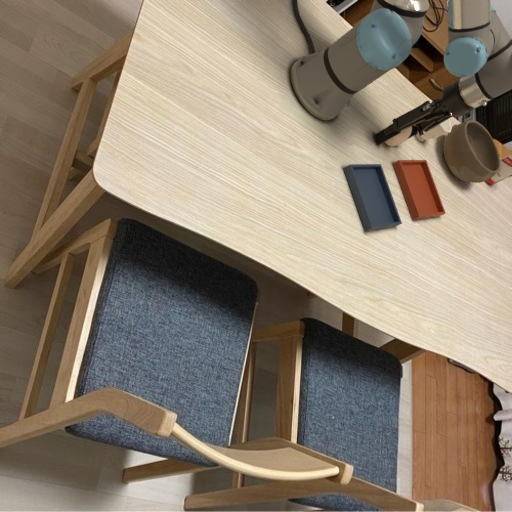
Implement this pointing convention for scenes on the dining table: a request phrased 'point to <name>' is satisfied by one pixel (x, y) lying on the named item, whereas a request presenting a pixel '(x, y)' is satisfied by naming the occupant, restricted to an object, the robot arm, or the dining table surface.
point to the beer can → (503, 170)
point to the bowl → (471, 152)
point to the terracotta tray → (419, 189)
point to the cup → (436, 131)
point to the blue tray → (372, 196)
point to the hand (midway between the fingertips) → (385, 139)
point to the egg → (399, 137)
